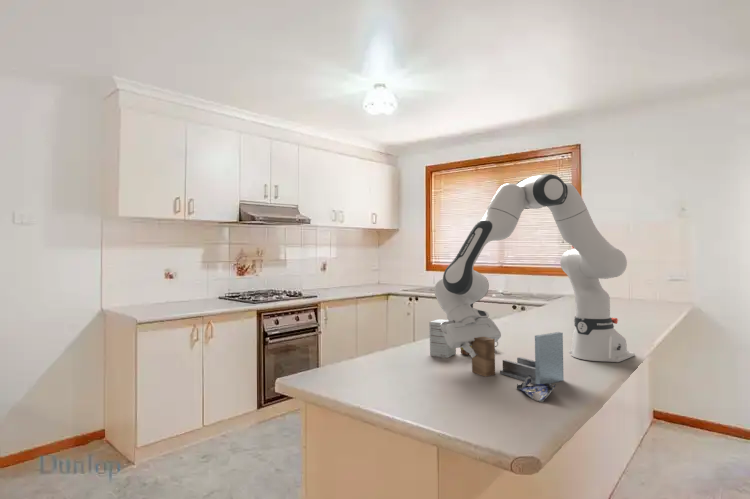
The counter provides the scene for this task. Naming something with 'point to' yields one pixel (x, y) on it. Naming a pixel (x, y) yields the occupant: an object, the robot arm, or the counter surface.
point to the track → (540, 361)
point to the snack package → (536, 388)
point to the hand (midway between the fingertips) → (484, 354)
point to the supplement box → (439, 340)
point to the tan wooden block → (484, 356)
